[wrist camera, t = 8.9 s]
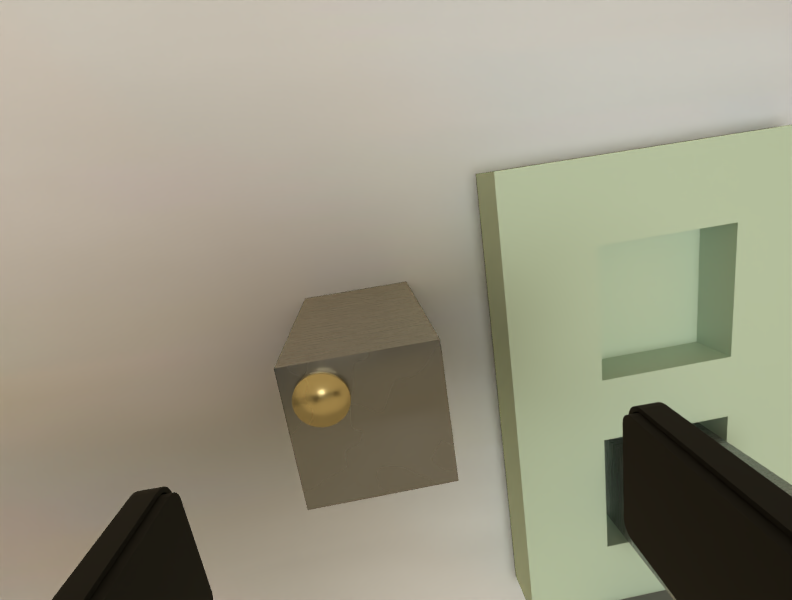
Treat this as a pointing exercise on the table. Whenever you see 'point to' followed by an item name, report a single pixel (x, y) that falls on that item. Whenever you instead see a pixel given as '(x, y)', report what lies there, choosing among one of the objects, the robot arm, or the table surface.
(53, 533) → the table surface
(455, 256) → the table surface
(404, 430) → the knobbed taupe block
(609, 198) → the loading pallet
